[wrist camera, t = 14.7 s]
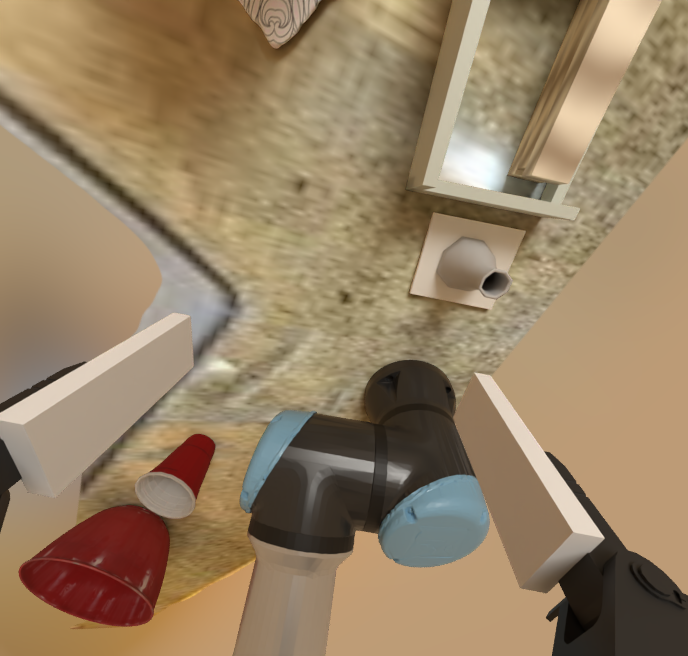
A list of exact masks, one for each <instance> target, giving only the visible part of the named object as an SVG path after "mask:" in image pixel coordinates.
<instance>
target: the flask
mask: <svg viewBox="0 0 688 656" xmlns="http://www.w3.org/2000/svg"><path fill="white" fill-rule="evenodd" d="M436 272H437V273H438V275H439V276H440V277H441V279H442V280H443V281H444V282H445V284H446V285H447V286H448V287H450V288H455V289H460V290H464V291H473V290H479V291H480V292H481V293H482V295H483V296H484V297H486V298H491V299H496V300H497V299H498V298H500V297H501V296H503V295H504V294H506V293H507V292H508V290H509V288H510V286H511V284H512V282H513V280H512V278H511V277H510V275H509V274H508V272H507V271H505V270H500V269H497V267H496V258H495V256H494V255H493V253H492V252H491V250H490V249H489V248H488V246H487V245H486V243H485V242H484V241H483V240H478V239H474V238H469V237H464V236H462V237H461V238H459V239H458V240H457V241H456V242H454V243H453V244H452V245H450V246H449V247H448V248H447V249H445V250H444V251H443V254H442V257H441V260H440V263H439V266H438V268H437V271H436Z"/></svg>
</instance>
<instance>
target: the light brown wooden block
mask: <svg viewBox="0 0 688 656" xmlns="http://www.w3.org/2000/svg"><path fill="white" fill-rule="evenodd" d="M661 1H662V0H580V1H579V4H578V6H577V9H576V11H575V13H574V16H573V18H572V21H571V23H570V25H569V28H568V30H567V33H566V35H565V38H564V40H563V42H562V45H561V47H560V50H559V52H558V54H557V57H556V59H555V62H554V64H553V66H552V69H551V71H550V74H549V76H548V78H547V81H546V83H545V86H544V88H543V90H542V93H541V95H540V98H539V100H538V102H537V105H536V107H535V110H534V112H533V115H532V117H531V119H530V122H529V124H528V127H527V129H526V131H525V134H524V136H523V139H522V141H521V143H520V146H519V148H518V151H517V153H516V155H515V158H514V160H513V163H512V165H511V167H510V170H509V172H508V176H512V177H516V178H520V179H524V180H529V181H533V182H537V183H543V182H546V183H551V184H555V185H562V184H569V182H570V180H571V178H572V176H573V174H574V172H575V170H576V168H577V166H578V164H579V162H580V160H581V158H582V156H583V154H584V153H585V151H586V149H587V147H588V145H589V143H590V141H591V139H592V137H593V135H594V133H595V131H596V129H597V127H598V125H599V123H600V121H601V119H602V117H603V115H604V113H605V111H606V109H607V107H608V105H609V103H610V101H611V99H612V97H613V95H614V93H615V91H616V89H617V88H618V86H619V84H620V82H621V80H622V78H623V76H624V74H625V72H626V70H627V68H628V66H629V64H630V62H631V60H632V58H633V56H634V54H635V52H636V50H637V48H638V46H639V44H640V42H641V40H642V38H643V36H644V34H645V32H646V30H647V28H648V26H649V24H650V23H651V21H652V19H653V17H654V15H655V13H656V11H657V9H658V7H659V5H660V3H661Z"/></svg>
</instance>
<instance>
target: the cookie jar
mask: <svg viewBox="0 0 688 656" xmlns="http://www.w3.org/2000/svg"><path fill="white" fill-rule="evenodd" d="M320 1H321V0H239V2H240V3H241V4H242V6H243V7H244V9H245V11H246V13H247V14H248V15H249V16H250V18H251V19H252V20H253V21H254V22H255V23H257V24H258V25H259V27H260V28H261V29H262V30H263V33H264V35H265V37H266V38H267V40H268V42H269V44H270V45H271V46H272V47H273V48H279V47H280V46H281V45H283V44H285V43H286V42H288V41H289V40H290V39H291V38H292V37H293V36H294V35H295V34H296V33H297V32H298V31H299V29H300V27H301V25H302V24H303V23H304V22H305V21H306V20H307V19H308V18H309V17H310V16H311V14H312V13H313V12H314V11H315V10H316V9H317V6H318V3H319V2H320Z"/></svg>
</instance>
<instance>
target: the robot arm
mask: <svg viewBox="0 0 688 656" xmlns="http://www.w3.org/2000/svg"><path fill="white" fill-rule="evenodd" d="M193 367H194V361H193V346H192V332H191V317H190V316H188V315H183V314H178V313H172V314H171V315H169V316H167V317H165V318H164V319H162V320H160V321H158V322H157V323H155V324H153V325H151V326H150V327H148V328H146V329H145V330H143V331H141V332H139V333H138V334H136V335H134V336H132V337H131V338H129V339H127V340H126V341H124V342H122V343H121V344H119V345H117V346H115V347H114V348H112V349H110V350H108V351H107V352H105V353H103V354H101V355H100V356H98V357H96V358H94V359H93V360H91V361H89V362H82V363H79V364H76V365H73V366H70V367H67V368H64V369H62V370H61V371H59V372H57V373H55V374H53V375H52V376H50V377H48V378H47V379H46V380H43V381H41V382H39V383H37V384H36V385H34V386H32V388H31V389H27V390H24V391H23V392H21V393H19V394H17V395H15V396H14V397H12V398H10V399H8V400H7V401H5V402H3V403H1V404H0V532H1V528H2V525H3V521H4V518H5V515H6V511H7V508H8V504H9V501H10V492H9V490H8V489H9V488H10V487H11V486H13V485H14V484H15V483H16V482H18V481H19V480H20V479H21V480H22V481H23V484H24V486H25V487H26V489H27V491H28V493H32V494H37V495H42V496H47V497H53V498H56V497H57V496H58V495H59V494H60V493H62V491H64V490H65V489H66V488H67V487H68V486H69V485H70V484H71V483H72V482H73V481H74V480H75V479H76V478H77V477H78V476H79V475H80V474H81V473H82V472H84V471H85V470H86V469H87V468H88V467H89V466H90V465H91V464H92V463H93V462H94V461H95V460H96V459H97V458H98V457H99V456H100V455H101V454H102V453H103V452H105V451H106V450H107V449H108V448H109V447H110V446H111V445H112V444H113V443H114V442H115V441H116V440H117V439H118V438H119V437H120V436H121V435H122V434H123V433H124V432H125V431H127V430H128V429H129V428H130V427H131V426H132V425H133V424H134V423H135V422H136V421H137V420H138V419H139V418H140V417H141V416H142V415H143V414H144V413H145V412H146V411H147V410H149V409H150V408H151V407H152V406H153V405H154V404H155V403H156V402H157V401H158V400H159V399H160V398H161V397H162V396H163V395H164V394H165V393H166V392H167V391H168V390H169V389H171V388H172V387H173V386H174V385H175V384H176V383H177V382H178V381H179V380H180V379H181V378H182V377H183V376H184V375H185V374H186V373H187V372H188V371H189V370H190V369H192V368H193ZM365 409H366V413H367V415H368V417H369V419H370V422H371V423H370V422H364V421H358V420H352V419H346V418H340V417H334V416H328V415H322V414H317V412H316V411H312V412H305V411H297V410H285V411H282V412H280V413H279V414H278V415H276V416H275V417H274V418H273V420H272V421H271V422H270V424H269V425H268V427H267V428H266V430H265V432H264V433H263V435H262V437H261V439H260V441H259V443H258V445H257V447H256V449H255V452H254V454H253V456H252V459H251V461H250V464H249V467H248V469H247V472H246V475H245V478H244V482H243V486H242V487H243V490H242V492H241V495H240V506H241V508H242V509H243V510H245V512H246V513H252V517H251V521H250V525H249V528H248V533H247V536H248V538H249V540H250V542H251V544H252V546H253V548H254V550H255V552H256V560H255V564H254V569H253V573H252V577H251V581H250V585H249V590H248V594H247V598H246V603H245V607H244V611H243V615H242V619H241V623H240V628H239V631H238V636H237V640H236V644H235V648H234V652H233V656H325V654H326V646H327V637H328V630H329V622H330V614H331V607H332V599H333V591H334V584H335V576H336V570H337V568H338V566H339V565H340V564H341V563H342V562H343V561H344V560H345V559H346V558H348V557H349V556H350V555H351V554H352V552H353V545H354V536H355V531H356V530H358V531H366V532H371V533H376V534H378V539H379V543H380V545H381V548H382V550H383V552H384V553H385V555H386V556H387V557H388V558H389V559H393V560H394V561H395V562H396V563H398V564H401V565H404V566H409V567H434V566H440V565H444V564H448V563H451V562H453V561H456V560H458V559H461V558H463V557H465V556H467V555H468V554H470V553H471V552H473V551H474V550H475V549H476V548H477V547H478V546H479V545H480V544H481V543H482V542H483V540H484V539H485V537H486V535H487V533H488V530H489V523H490V521H489V513H488V510H487V506H486V503H487V505H488V508H489V510H490V513H491V515H492V518H493V521H494V523H495V526H496V528H497V531H498V533H499V536H500V538H501V541H502V543H503V546H504V548H505V551H506V553H507V556H508V559H509V561H510V564H511V566H512V569H513V571H514V574H515V576H516V579H517V581H518V584H519V587H520V588H522V589H528V590H533V591H538V592H543V593H548V591H550V590H551V589H552V588H553V587H554V586H555V585H556V584H557V583H558V582H559V584H560V586H561V588H562V590H563V592H564V594H565V596H566V597H565V598H564V599H563V600H562V601H561V602H560V603H559V604H557V605H556V606H555V607H554V608H553V609H552V610H551V611H549V613H548V615H547V616H546V618H547V619H548V620H549V621H550V622H551V621H552V620H553V619H554V618H555V617H557V616H558V622H557V627H556V633H555V640H554V647H553V652H552V656H688V595H686V594H683V593H682V592H681V590H680V589H679V588H678V586H677V585H676V584H675V583H674V582H673V581H672V580H671V579H670V578H669V577H668V576H667V575H666V574H665V573H664V572H663V571H662V570H661V569H659V568H658V567H657V566H656V565H654V564H653V563H652V562H650V561H649V560H647V559H646V558H644V557H642V556H640V555H639V554H637V553H634V552H631V551H628V550H627V549H626V548H625V546H624V545H623V544H622V542H621V541H620V540H619V538H618V537H617V535H616V534H615V533H614V532H613V530H612V529H611V527H610V526H609V525H608V523H607V522H606V521H605V519H604V518H603V517H602V516H601V514H600V513H599V511H598V510H597V509H596V507H595V506H594V505H593V503H592V502H591V501H590V499H589V498H588V497H586V494H585V493H584V491H583V490H582V488H581V487H580V486H579V485H578V484H576V480H575V479H574V478H573V476H572V475H571V474H570V472H569V471H568V470H567V468H566V467H565V466H564V465H563V464H562V463H561V462H560V461H559V460H558V459H556V458H555V457H554V456H553V455H552V454H551V453H550V452H544V451H543V450H542V448H541V447H540V446H539V444H538V443H537V441H536V440H535V438H534V437H533V435H532V434H531V433H530V431H529V430H528V428H527V427H526V426H525V424H524V423H523V421H522V420H521V418H520V417H519V415H518V414H517V413H516V411H515V410H514V408H513V407H512V405H511V404H510V403H509V401H508V400H507V398H506V397H505V396H504V394H503V393H502V391H501V390H500V388H499V387H498V386H497V384H496V383H495V381H494V380H493V379H492V377H491V376H490V375H485V374H479V373H474V374H473V376H472V378H471V380H470V382H469V384H468V387H467V389H466V391H465V393H464V395H463V397H462V399H461V401H460V404H459V406H458V408H457V410H456V412H455V409H456V398H455V393H454V390H453V388H452V385H451V383H450V381H449V379H448V378H447V376H446V375H445V374H444V373H443V372H442V371H441V370H440V369H438V368H437V367H435V366H434V365H431V364H429V363H426V362H422V361H417V360H404V361H398V362H394V363H391V364H389V365H387V366H385V367H383V368H381V369H380V370H378V371H377V372H376V373H375V374H374V375H373V376H372V377H371V379H370V380H369V382H368V384H367V387H366V390H365ZM455 424H456V425H455ZM456 427H457V428H456ZM457 429H458V430H457ZM458 432H459V433H458ZM459 434H460V435H459ZM460 437H461V438H460ZM461 439H462V440H461ZM462 442H463V443H462ZM463 444H464V445H463ZM464 447H465V448H464ZM465 449H466V450H465ZM466 452H467V453H466ZM468 457H469V458H468ZM470 462H471V463H470ZM472 467H473V468H472ZM483 495H484V496H483ZM484 498H485V500H486V503H485V500H484Z"/></svg>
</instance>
